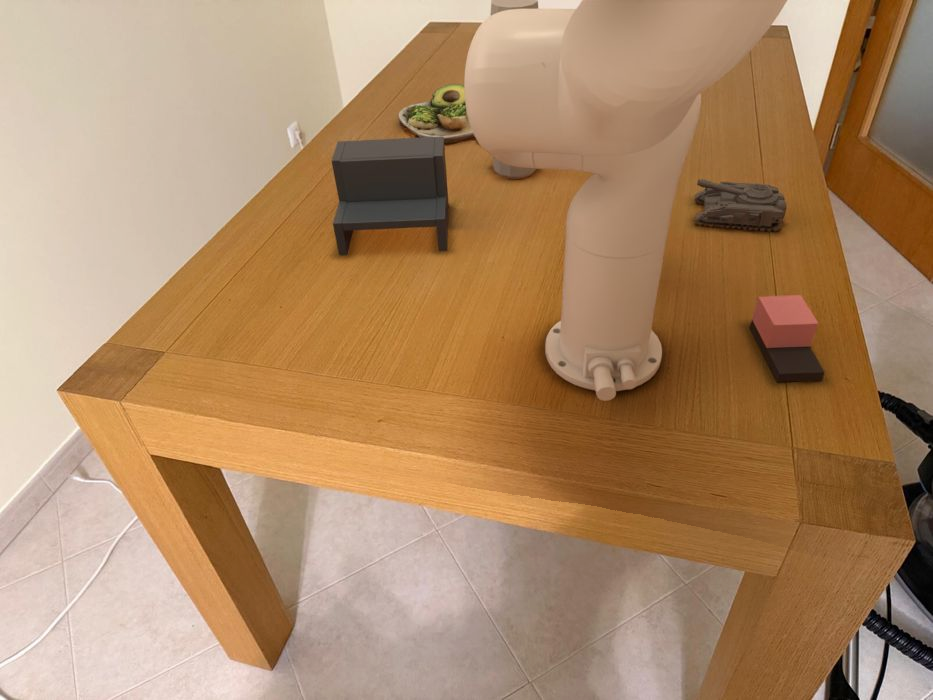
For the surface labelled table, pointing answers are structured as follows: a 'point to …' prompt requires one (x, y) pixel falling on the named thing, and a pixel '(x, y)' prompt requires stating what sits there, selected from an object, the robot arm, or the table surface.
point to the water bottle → (499, 3)
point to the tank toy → (740, 205)
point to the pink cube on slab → (786, 337)
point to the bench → (390, 187)
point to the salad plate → (440, 115)
